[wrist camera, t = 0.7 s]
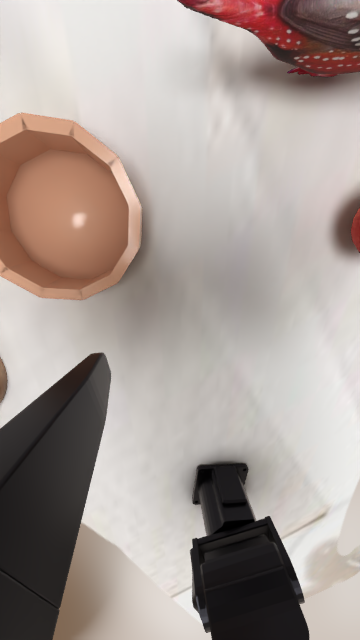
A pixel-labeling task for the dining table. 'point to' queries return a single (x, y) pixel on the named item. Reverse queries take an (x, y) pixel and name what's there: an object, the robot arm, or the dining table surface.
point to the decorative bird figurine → (297, 30)
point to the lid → (2, 380)
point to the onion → (356, 230)
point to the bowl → (63, 209)
